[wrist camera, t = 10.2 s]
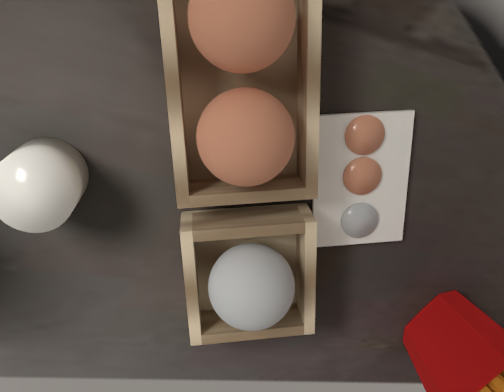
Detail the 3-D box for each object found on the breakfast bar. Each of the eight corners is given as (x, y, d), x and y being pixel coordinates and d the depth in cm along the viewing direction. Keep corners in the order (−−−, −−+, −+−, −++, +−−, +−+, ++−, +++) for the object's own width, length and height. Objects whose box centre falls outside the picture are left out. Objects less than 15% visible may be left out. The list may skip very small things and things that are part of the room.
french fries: (417, 362, 41) (498, 492, 30) (386, 341, 40) (459, 468, 29) (488, 295, 39) (603, 407, 28) (459, 271, 38) (567, 378, 27)
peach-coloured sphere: (184, -36, 28) (181, -48, 22) (285, -39, 28) (307, -51, 22) (192, 69, 30) (191, 83, 24) (285, 65, 30) (305, 77, 25)
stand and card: (1, 131, 30) (-26, 148, 27) (412, 109, 33) (439, 122, 29) (32, 267, 34) (12, 298, 30) (400, 238, 36) (423, 263, 33)
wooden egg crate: (155, -62, 27) (150, -71, 24) (309, -65, 28) (323, -74, 25) (179, 189, 33) (177, 208, 30) (306, 181, 34) (317, 198, 31)
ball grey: (204, 231, 34) (206, 274, 28) (286, 225, 34) (303, 266, 29) (209, 301, 36) (212, 354, 31) (286, 295, 37) (302, 345, 31)
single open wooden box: (181, 211, 34) (179, 232, 30) (306, 202, 34) (317, 221, 31) (191, 317, 37) (190, 345, 34) (304, 306, 38) (314, 333, 35)
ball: (199, 171, 32) (199, 205, 27) (192, 82, 30) (191, 99, 24) (285, 166, 33) (303, 197, 27) (285, 78, 31) (304, 93, 25)
